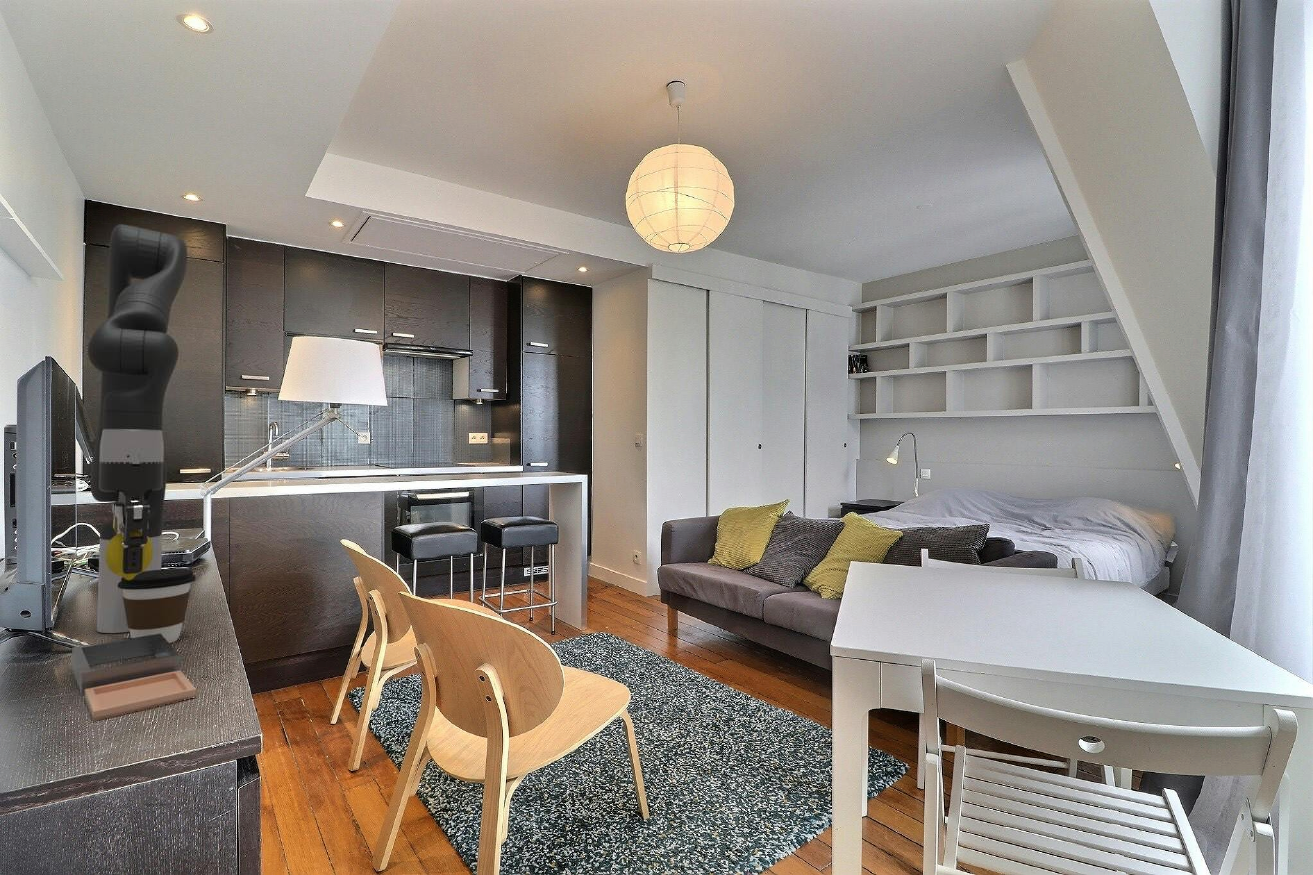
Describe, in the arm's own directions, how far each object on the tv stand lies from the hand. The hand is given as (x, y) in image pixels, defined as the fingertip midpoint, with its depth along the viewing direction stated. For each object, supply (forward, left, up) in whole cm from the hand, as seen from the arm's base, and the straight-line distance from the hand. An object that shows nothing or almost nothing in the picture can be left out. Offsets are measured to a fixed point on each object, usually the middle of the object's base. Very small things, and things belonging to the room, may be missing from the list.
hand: (129, 570), depth 96 cm
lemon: (0, 0, -2) cm, 2 cm away
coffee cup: (-17, +6, -16) cm, 24 cm away
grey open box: (-2, 0, -16) cm, 16 cm away
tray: (+13, 0, -16) cm, 21 cm away
